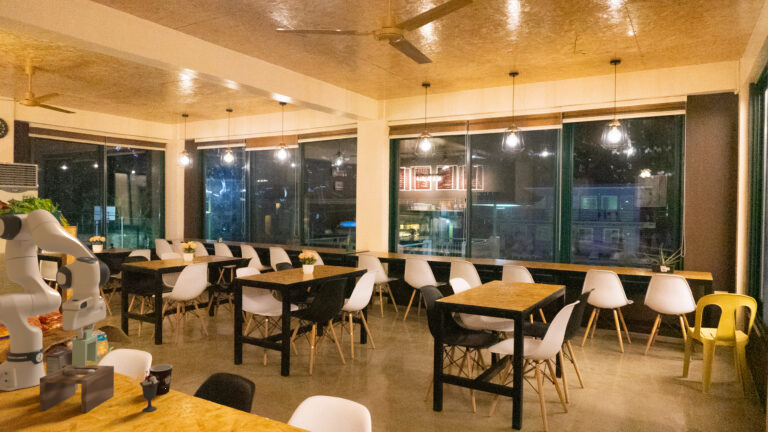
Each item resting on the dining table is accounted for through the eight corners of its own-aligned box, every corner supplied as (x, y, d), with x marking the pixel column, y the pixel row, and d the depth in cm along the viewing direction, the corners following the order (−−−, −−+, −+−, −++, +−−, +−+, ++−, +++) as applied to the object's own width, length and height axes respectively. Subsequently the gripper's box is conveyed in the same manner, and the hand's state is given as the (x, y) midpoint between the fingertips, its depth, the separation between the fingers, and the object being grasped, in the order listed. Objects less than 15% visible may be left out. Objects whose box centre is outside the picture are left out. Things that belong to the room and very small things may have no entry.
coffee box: (65, 387, 203) (65, 348, 203) (78, 388, 202) (78, 350, 202) (45, 395, 194) (45, 355, 194) (59, 397, 193) (59, 356, 193)
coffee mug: (167, 386, 206) (167, 362, 205) (175, 392, 199) (175, 367, 199) (137, 393, 197) (138, 369, 197) (145, 399, 191) (145, 374, 191)
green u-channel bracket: (72, 365, 183) (72, 332, 183) (84, 359, 190) (85, 327, 190) (84, 366, 183) (85, 333, 182) (97, 360, 190) (97, 328, 189)
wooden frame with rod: (39, 410, 180) (39, 375, 180) (70, 394, 196) (70, 362, 196) (86, 412, 179) (86, 377, 178) (113, 396, 195) (113, 363, 194)
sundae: (139, 414, 178) (140, 373, 177) (139, 407, 184) (139, 368, 183) (159, 411, 181) (160, 370, 180) (158, 404, 187) (159, 365, 186)
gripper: (96, 294, 196) (95, 329, 197) (58, 305, 176) (57, 343, 176) (111, 295, 196) (110, 330, 196) (75, 306, 175) (74, 344, 176)
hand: (85, 336), depth 186 cm, fingers closed on green u-channel bracket, 3 cm apart
